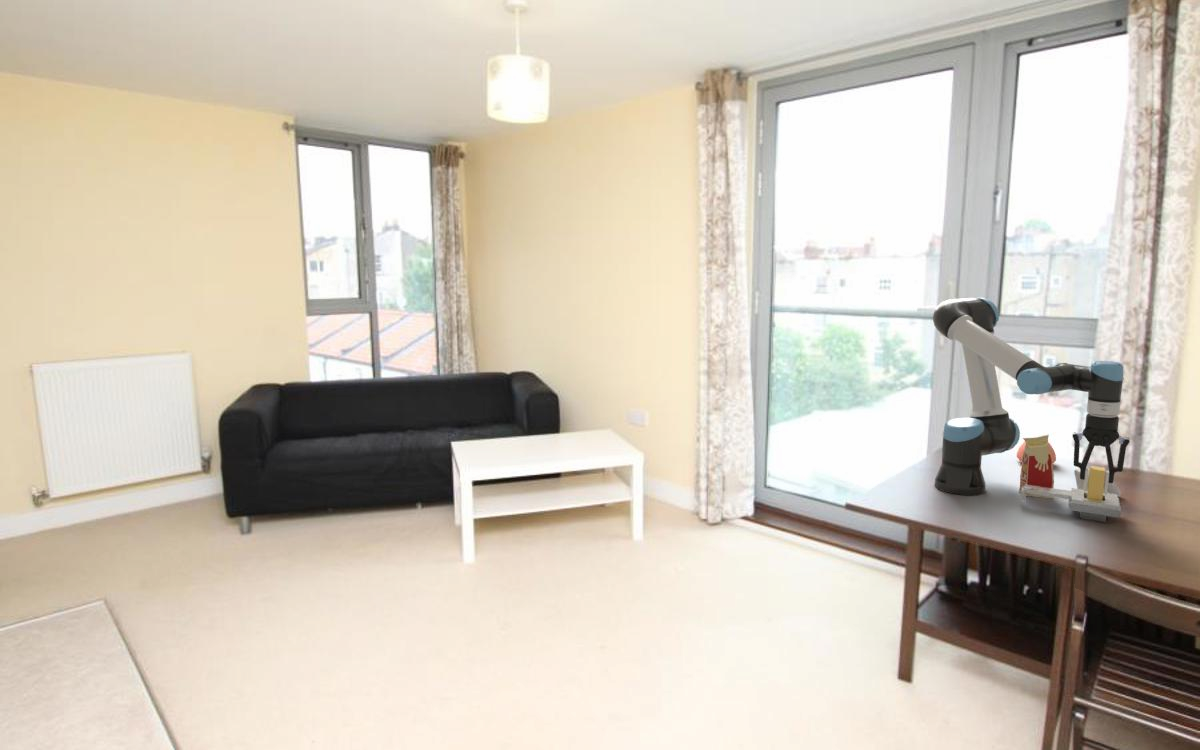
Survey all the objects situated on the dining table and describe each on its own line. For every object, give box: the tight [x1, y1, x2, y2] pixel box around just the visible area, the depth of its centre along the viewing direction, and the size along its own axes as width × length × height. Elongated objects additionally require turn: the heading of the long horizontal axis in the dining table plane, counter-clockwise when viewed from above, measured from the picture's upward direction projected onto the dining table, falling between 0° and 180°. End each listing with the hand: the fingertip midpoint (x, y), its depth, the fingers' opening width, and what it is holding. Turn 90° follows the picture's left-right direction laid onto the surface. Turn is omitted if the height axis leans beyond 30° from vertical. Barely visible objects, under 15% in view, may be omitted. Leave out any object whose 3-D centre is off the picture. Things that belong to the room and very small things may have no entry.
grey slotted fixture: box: [1020, 484, 1122, 523], centre depth 196 cm, size 24×12×6 cm, turn 54°
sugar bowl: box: [1016, 441, 1057, 464], centre depth 242 cm, size 12×14×10 cm
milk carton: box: [1018, 433, 1055, 500], centre depth 212 cm, size 9×9×20 cm
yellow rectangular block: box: [1087, 465, 1106, 500], centre depth 192 cm, size 4×4×12 cm
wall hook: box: [1073, 468, 1122, 498], centre depth 208 cm, size 8×10×10 cm
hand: (1095, 491), depth 192 cm, fingers open, 4 cm apart
